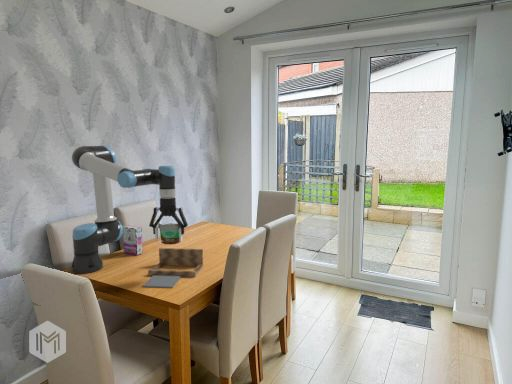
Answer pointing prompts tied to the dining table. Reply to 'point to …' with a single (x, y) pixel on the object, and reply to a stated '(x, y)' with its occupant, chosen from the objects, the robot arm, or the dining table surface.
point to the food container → (169, 233)
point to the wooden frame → (178, 261)
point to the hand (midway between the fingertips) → (169, 240)
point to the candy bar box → (132, 240)
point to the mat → (162, 281)
